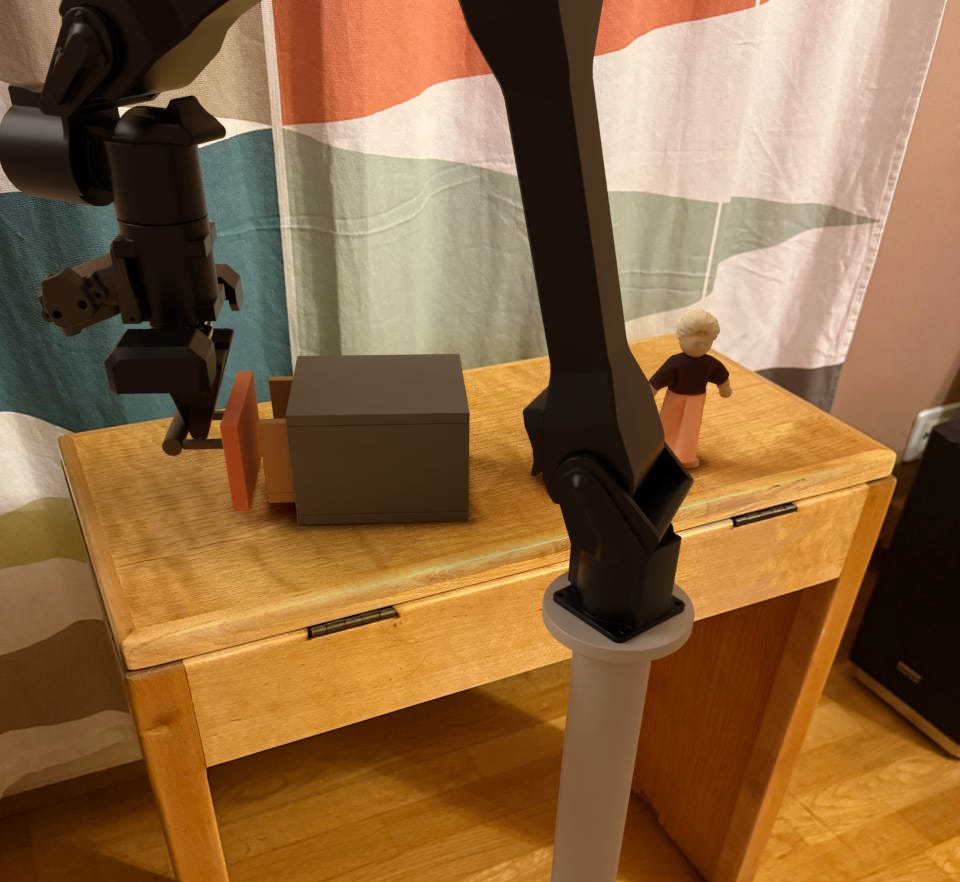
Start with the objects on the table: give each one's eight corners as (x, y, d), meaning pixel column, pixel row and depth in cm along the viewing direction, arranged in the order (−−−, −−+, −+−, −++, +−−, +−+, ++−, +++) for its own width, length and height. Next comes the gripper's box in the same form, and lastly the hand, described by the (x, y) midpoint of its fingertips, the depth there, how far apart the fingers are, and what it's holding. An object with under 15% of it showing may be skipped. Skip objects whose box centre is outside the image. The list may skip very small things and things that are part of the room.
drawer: (167, 513, 69) (149, 426, 65) (190, 452, 77) (175, 371, 73) (391, 508, 70) (387, 422, 66) (390, 448, 78) (386, 368, 74)
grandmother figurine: (650, 480, 76) (672, 322, 68) (625, 460, 79) (644, 306, 71) (729, 464, 79) (759, 310, 71) (703, 445, 81) (729, 295, 74)
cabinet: (297, 525, 69) (285, 415, 64) (307, 457, 78) (297, 355, 73) (468, 521, 70) (469, 412, 65) (459, 453, 79) (459, 353, 74)
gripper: (72, 182, 68) (118, 389, 78) (-15, 255, 53) (55, 500, 63) (229, 183, 69) (256, 387, 78) (187, 255, 54) (225, 497, 64)
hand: (200, 437), depth 71 cm, fingers closed, pressing on drawer
